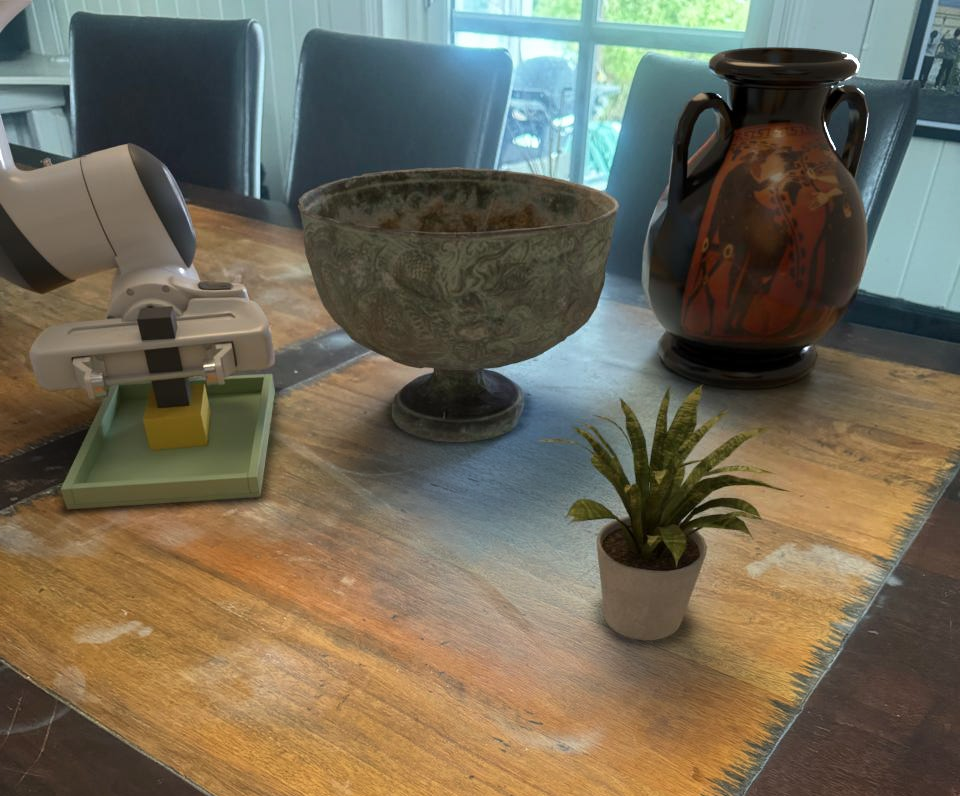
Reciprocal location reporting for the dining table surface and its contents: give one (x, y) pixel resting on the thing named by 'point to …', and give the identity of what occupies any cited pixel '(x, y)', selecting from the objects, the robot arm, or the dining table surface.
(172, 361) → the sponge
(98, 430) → the tray
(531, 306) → the decorative bowl
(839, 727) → the dining table surface
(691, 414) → the house plant
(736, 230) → the amphora vase
